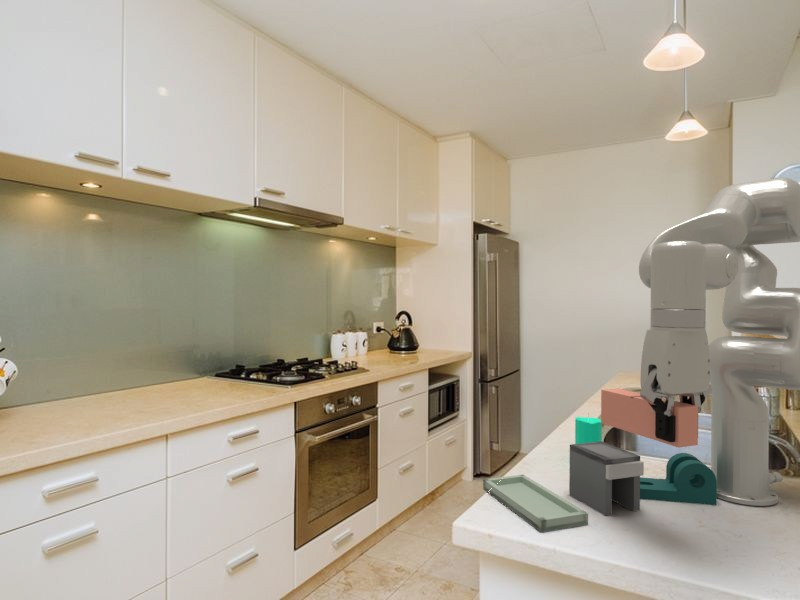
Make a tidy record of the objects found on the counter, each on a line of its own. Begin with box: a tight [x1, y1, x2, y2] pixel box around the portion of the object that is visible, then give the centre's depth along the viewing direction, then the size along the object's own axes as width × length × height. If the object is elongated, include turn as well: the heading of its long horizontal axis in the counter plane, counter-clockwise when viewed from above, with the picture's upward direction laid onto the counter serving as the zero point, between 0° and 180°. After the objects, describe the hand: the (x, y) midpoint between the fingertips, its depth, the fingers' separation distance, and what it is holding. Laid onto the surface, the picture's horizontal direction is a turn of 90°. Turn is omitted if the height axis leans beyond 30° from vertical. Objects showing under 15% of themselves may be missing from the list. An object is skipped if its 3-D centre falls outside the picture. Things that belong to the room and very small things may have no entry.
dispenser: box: [568, 441, 644, 517], centre depth 95 cm, size 11×8×10 cm
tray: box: [482, 474, 589, 534], centre depth 94 cm, size 9×20×2 cm, turn 19°
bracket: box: [640, 452, 717, 506], centre depth 100 cm, size 18×7×8 cm, turn 79°
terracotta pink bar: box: [600, 388, 699, 448], centre depth 83 cm, size 4×16×6 cm, turn 21°
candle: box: [574, 412, 603, 444], centre depth 119 cm, size 6×6×12 cm
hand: (676, 437), depth 78 cm, fingers closed on terracotta pink bar, 4 cm apart
